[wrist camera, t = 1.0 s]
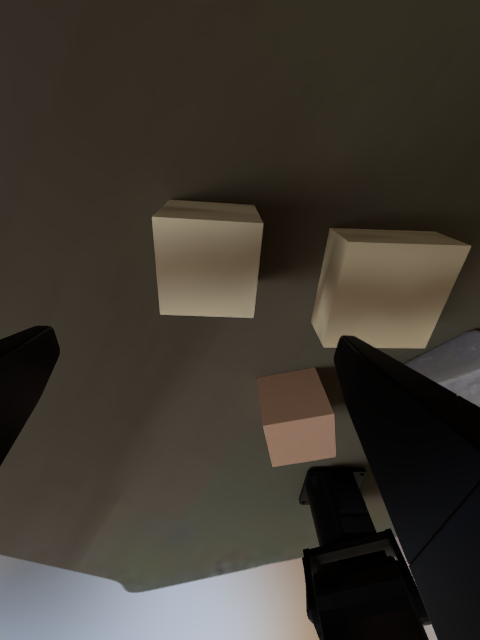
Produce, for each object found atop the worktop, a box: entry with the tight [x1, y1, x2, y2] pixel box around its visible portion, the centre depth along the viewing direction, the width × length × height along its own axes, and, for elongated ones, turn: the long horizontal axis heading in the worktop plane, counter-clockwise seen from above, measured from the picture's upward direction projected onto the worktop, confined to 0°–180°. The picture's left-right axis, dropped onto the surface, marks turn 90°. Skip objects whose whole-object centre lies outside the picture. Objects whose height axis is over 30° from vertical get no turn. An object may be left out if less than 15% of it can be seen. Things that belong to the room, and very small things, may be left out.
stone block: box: [403, 330, 480, 407], centre depth 25 cm, size 12×5×10 cm
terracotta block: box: [256, 367, 336, 467], centre depth 24 cm, size 5×5×5 cm
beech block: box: [152, 200, 264, 318], centre depth 16 cm, size 5×5×5 cm
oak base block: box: [311, 228, 471, 348], centre depth 19 cm, size 7×7×4 cm
